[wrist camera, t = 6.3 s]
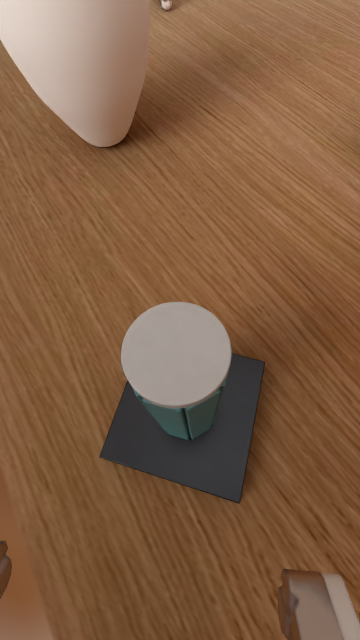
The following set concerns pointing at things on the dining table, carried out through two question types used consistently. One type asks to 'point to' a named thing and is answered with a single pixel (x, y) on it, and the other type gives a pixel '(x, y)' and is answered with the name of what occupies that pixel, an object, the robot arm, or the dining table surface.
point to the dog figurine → (166, 4)
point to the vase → (82, 59)
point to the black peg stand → (194, 454)
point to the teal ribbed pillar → (178, 365)
